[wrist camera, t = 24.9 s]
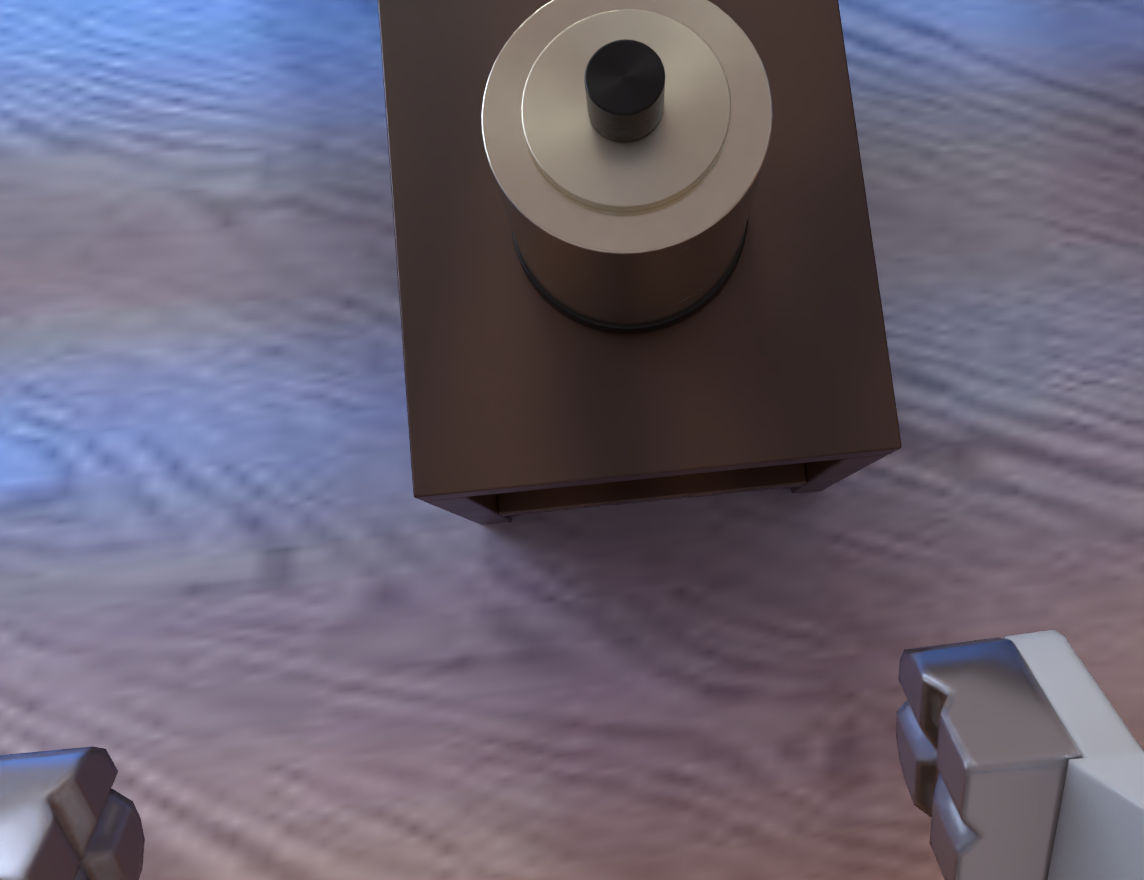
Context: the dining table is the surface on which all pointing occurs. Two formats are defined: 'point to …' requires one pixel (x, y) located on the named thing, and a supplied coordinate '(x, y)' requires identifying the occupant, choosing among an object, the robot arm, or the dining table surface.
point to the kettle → (628, 155)
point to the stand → (644, 360)
